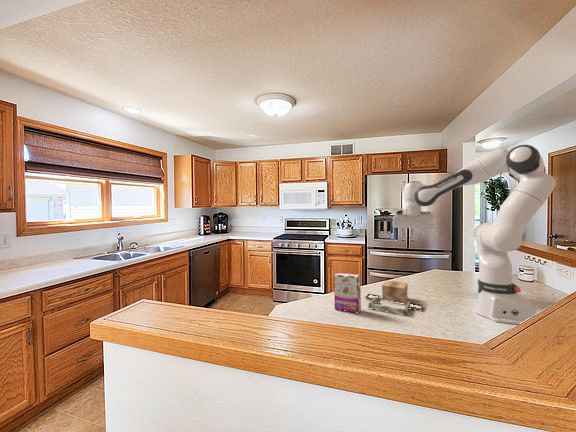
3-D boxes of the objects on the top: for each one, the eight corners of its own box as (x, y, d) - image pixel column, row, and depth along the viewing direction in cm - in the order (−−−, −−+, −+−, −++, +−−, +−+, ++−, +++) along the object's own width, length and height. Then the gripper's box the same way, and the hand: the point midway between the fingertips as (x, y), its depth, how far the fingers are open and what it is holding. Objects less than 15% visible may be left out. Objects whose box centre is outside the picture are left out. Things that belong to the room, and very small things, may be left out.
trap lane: (423, 304, 128) (423, 299, 128) (418, 318, 114) (418, 312, 114) (368, 295, 142) (368, 291, 142) (357, 307, 128) (357, 301, 127)
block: (407, 298, 138) (407, 283, 137) (404, 305, 129) (404, 288, 129) (387, 295, 143) (386, 280, 143) (382, 301, 135) (382, 285, 134)
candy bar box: (361, 309, 124) (360, 274, 123) (358, 313, 120) (358, 277, 119) (337, 306, 129) (337, 272, 129) (334, 309, 125) (333, 274, 124)
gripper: (434, 211, 145) (434, 237, 146) (394, 211, 156) (394, 235, 157) (433, 211, 140) (432, 238, 141) (391, 211, 151) (391, 236, 152)
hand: (412, 236), depth 149 cm, fingers open, 8 cm apart
